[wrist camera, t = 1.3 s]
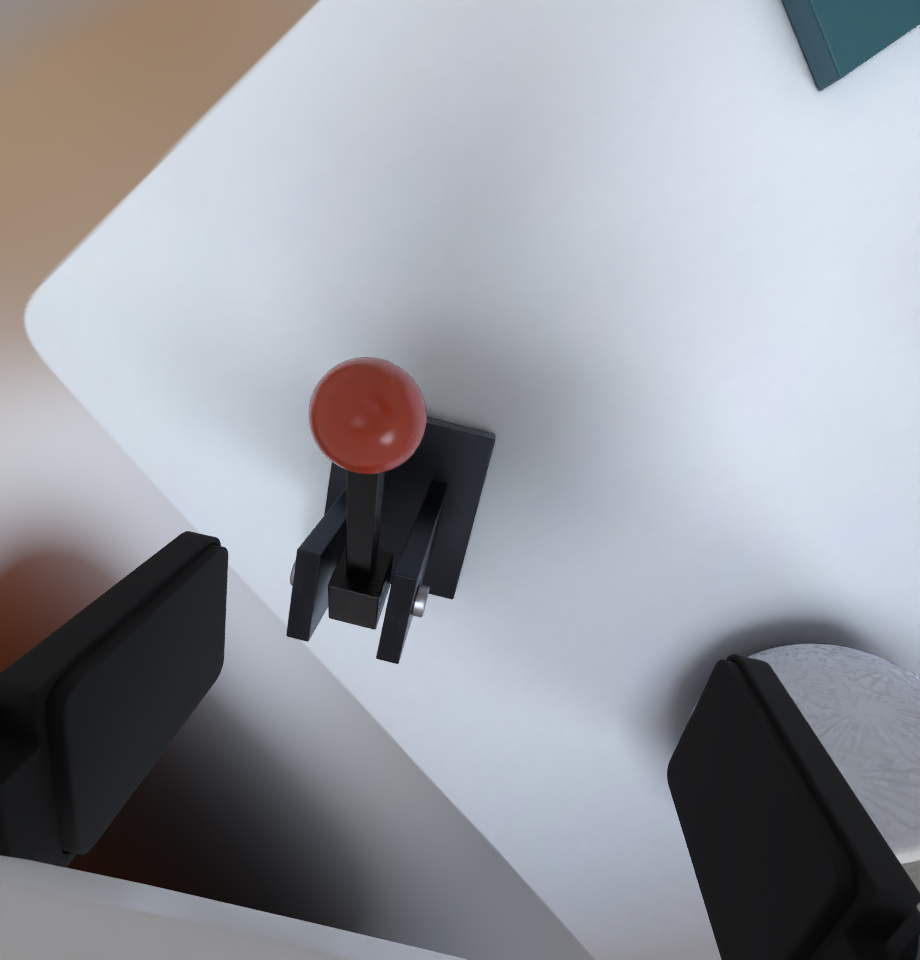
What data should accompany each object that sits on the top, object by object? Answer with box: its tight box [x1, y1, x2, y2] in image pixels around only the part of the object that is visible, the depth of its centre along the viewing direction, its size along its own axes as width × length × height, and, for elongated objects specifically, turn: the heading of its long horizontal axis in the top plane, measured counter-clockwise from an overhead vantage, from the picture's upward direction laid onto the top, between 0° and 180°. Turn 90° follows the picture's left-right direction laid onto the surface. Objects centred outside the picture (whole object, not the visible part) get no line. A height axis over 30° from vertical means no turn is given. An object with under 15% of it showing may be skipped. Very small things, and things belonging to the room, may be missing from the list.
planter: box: [690, 644, 920, 911], centre depth 29 cm, size 17×17×15 cm
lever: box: [309, 357, 427, 629], centre depth 20 cm, size 13×4×4 cm, turn 168°
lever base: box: [287, 418, 495, 664], centre depth 28 cm, size 11×9×12 cm
